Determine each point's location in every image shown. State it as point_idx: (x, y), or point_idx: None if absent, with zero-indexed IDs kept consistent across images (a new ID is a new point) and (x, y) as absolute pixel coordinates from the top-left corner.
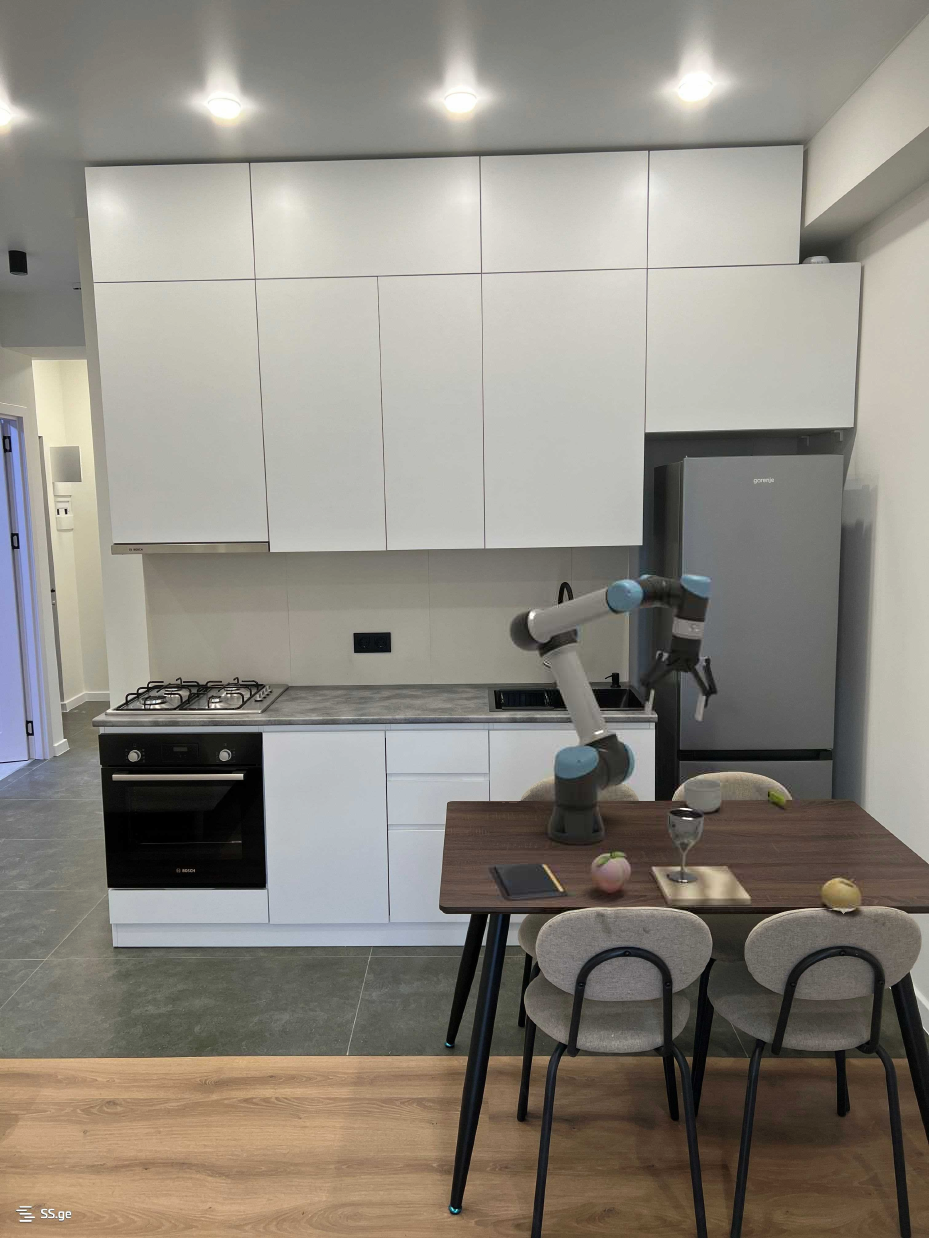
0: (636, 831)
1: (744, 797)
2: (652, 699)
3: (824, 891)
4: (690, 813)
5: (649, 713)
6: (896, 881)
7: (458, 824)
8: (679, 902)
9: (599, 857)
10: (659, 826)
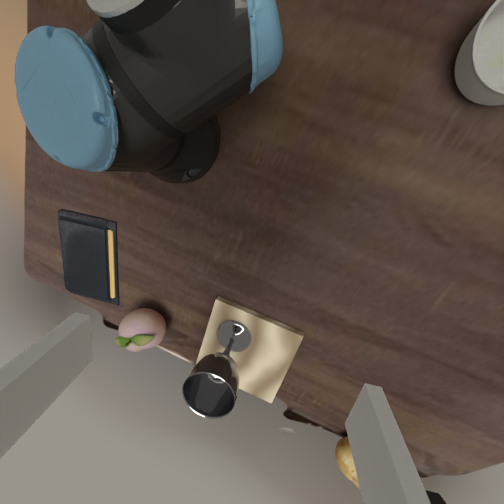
0: (274, 153)
1: None
2: (6, 446)
3: (338, 454)
4: (229, 379)
5: (80, 365)
6: (490, 443)
7: (30, 27)
8: None
9: (120, 333)
10: (326, 143)
